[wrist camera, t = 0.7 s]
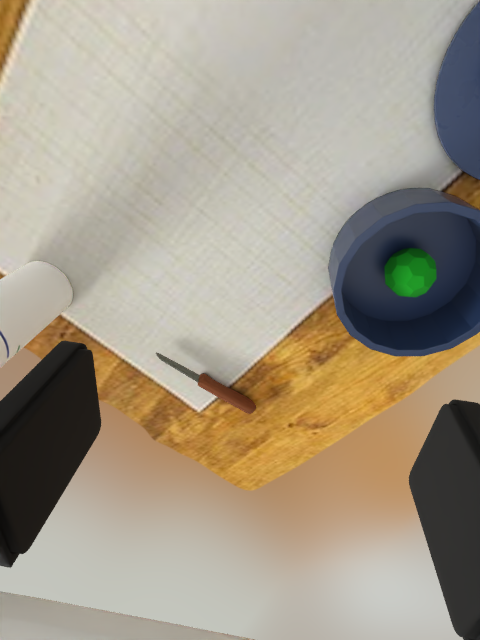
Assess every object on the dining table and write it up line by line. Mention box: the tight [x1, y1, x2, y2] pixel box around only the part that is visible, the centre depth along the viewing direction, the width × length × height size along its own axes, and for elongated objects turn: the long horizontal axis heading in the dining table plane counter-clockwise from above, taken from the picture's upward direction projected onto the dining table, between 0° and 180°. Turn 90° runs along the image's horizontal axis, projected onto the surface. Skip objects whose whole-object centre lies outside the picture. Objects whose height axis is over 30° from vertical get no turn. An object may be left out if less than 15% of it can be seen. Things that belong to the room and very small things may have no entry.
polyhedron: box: [384, 248, 436, 297], centre depth 38 cm, size 5×5×5 cm
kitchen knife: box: [156, 353, 256, 414], centre depth 51 cm, size 16×1×2 cm, turn 57°
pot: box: [328, 188, 480, 356], centre depth 38 cm, size 16×16×6 cm
